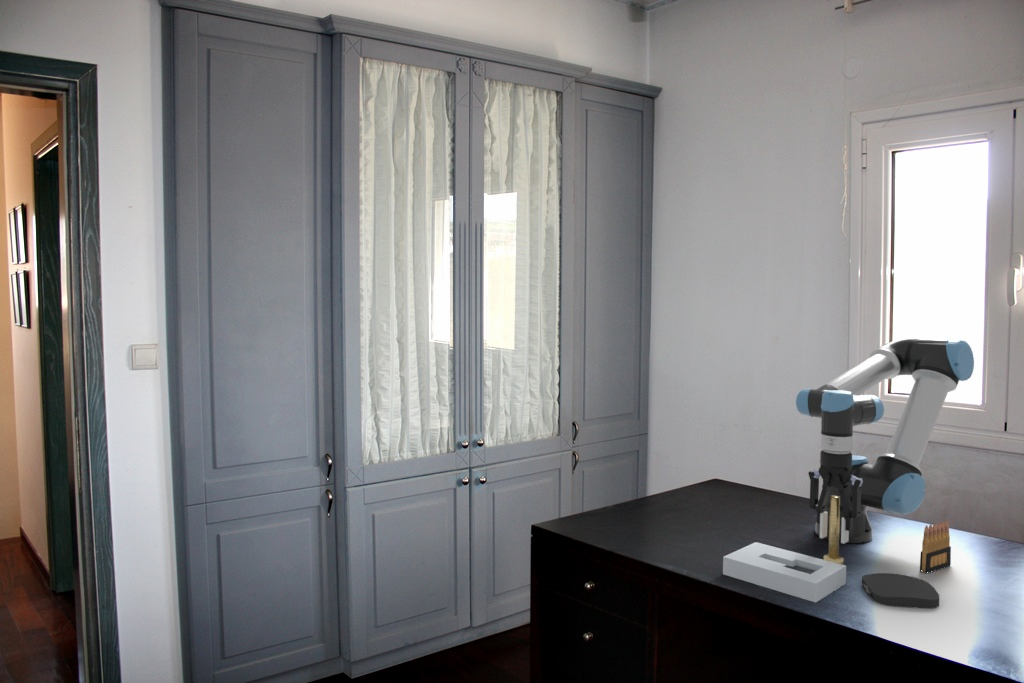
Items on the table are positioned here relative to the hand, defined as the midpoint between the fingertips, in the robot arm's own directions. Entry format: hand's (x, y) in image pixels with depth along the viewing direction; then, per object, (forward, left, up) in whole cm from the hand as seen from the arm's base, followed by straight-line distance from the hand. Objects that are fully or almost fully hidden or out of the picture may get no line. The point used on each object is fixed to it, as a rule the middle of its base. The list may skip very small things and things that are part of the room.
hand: (833, 539), depth 198 cm
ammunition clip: (-25, +2, -7) cm, 26 cm away
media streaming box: (-8, +19, -7) cm, 22 cm away
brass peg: (0, 0, -7) cm, 7 cm away
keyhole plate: (+16, +10, -7) cm, 20 cm away
